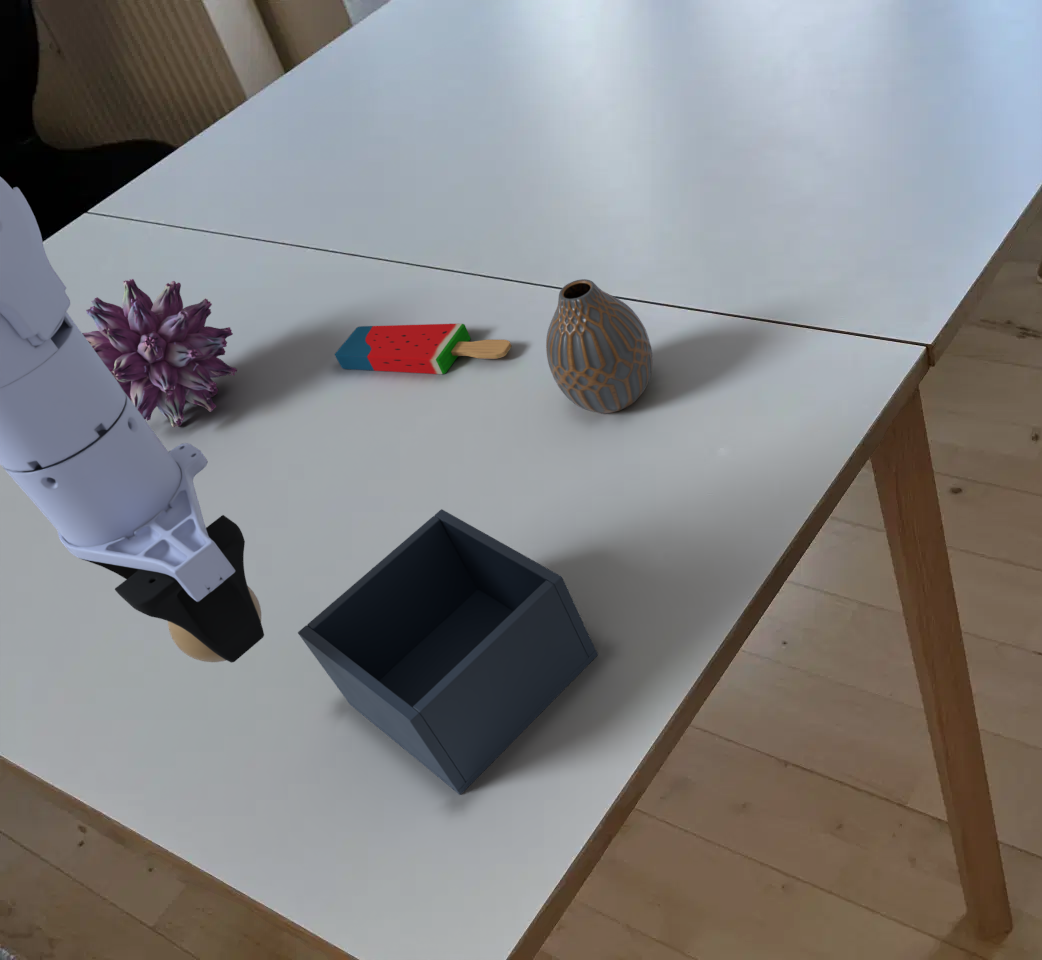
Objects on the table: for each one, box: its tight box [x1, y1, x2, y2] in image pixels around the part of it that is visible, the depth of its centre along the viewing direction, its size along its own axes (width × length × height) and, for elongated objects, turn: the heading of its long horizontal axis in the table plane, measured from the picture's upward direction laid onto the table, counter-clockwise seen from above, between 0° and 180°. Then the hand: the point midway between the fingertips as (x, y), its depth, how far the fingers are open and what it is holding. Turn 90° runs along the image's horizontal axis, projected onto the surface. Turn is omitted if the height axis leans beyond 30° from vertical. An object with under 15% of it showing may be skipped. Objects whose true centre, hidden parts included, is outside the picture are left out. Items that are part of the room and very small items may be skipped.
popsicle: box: [334, 323, 512, 375], centre depth 86 cm, size 5×2×15 cm
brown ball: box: [167, 585, 262, 663], centre depth 56 cm, size 4×4×4 cm
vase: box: [545, 278, 654, 414], centre depth 73 cm, size 7×7×9 cm
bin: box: [297, 508, 599, 796], centre depth 58 cm, size 10×10×6 cm
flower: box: [82, 278, 238, 428], centre depth 86 cm, size 12×12×12 cm
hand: (223, 628), depth 56 cm, fingers closed on brown ball, 4 cm apart
